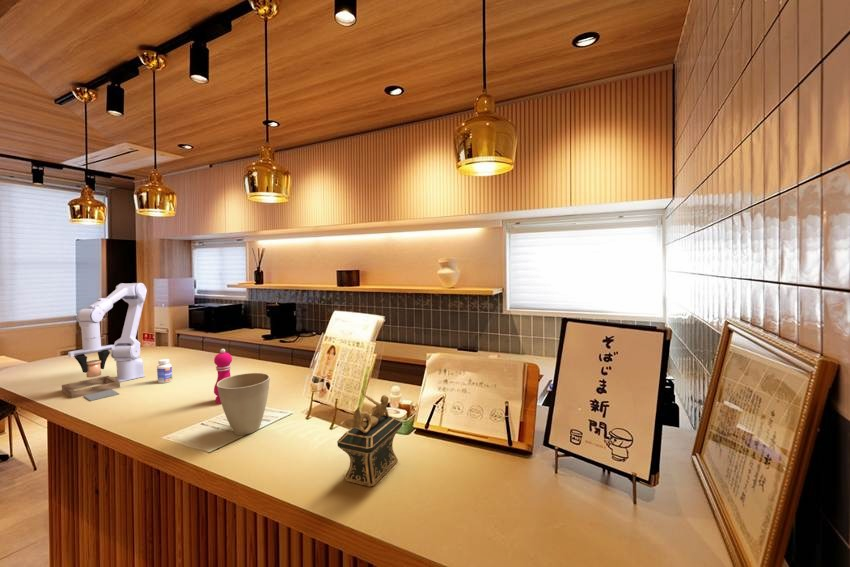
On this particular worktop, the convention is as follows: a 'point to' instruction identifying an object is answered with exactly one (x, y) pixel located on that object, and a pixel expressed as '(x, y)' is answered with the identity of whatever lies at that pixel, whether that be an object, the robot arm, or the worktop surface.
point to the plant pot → (244, 400)
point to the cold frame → (78, 393)
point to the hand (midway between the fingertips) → (93, 370)
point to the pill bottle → (164, 371)
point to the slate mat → (101, 395)
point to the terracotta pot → (93, 368)
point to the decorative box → (370, 443)
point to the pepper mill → (222, 369)
